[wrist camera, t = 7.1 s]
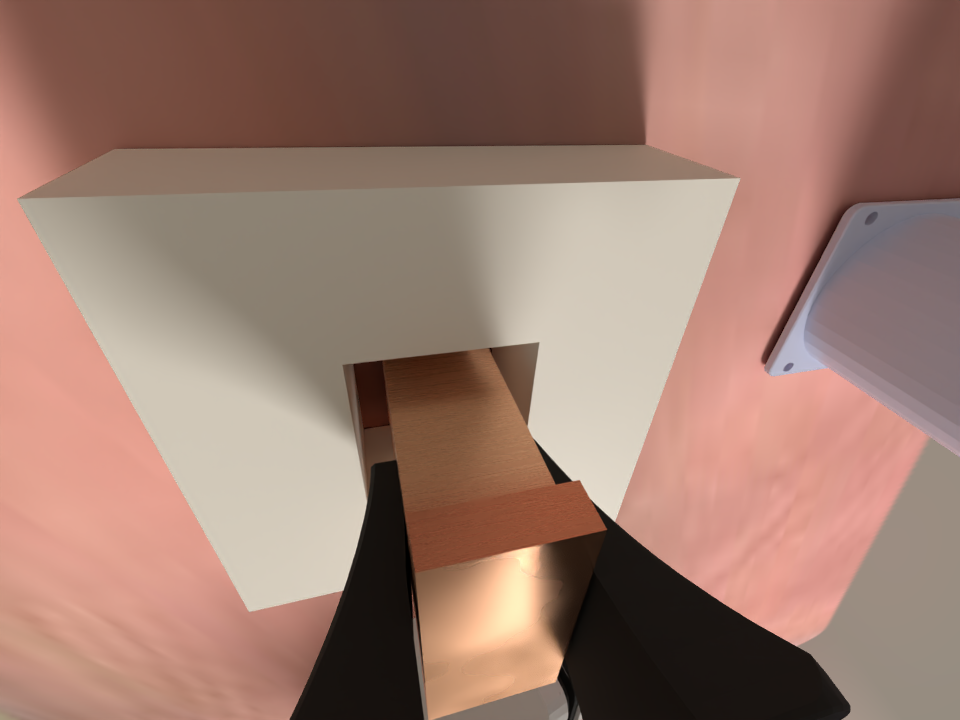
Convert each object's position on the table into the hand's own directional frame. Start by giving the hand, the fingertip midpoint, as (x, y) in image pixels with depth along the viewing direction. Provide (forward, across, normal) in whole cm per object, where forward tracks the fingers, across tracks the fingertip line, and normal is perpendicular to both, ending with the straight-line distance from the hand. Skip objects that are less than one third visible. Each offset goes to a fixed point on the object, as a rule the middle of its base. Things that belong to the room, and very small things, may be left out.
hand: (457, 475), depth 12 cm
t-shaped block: (+5, 0, 0) cm, 5 cm away
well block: (+5, 0, 0) cm, 5 cm away
